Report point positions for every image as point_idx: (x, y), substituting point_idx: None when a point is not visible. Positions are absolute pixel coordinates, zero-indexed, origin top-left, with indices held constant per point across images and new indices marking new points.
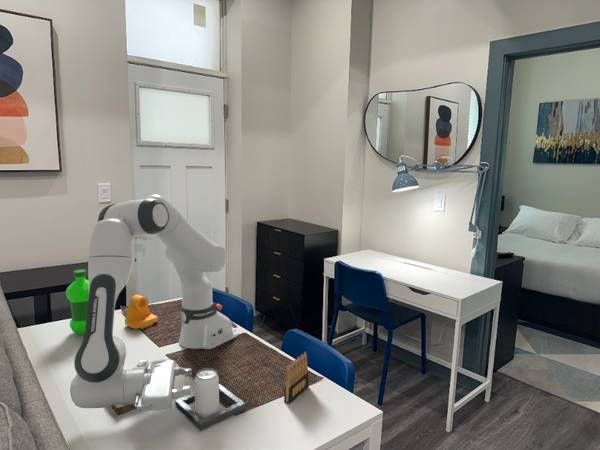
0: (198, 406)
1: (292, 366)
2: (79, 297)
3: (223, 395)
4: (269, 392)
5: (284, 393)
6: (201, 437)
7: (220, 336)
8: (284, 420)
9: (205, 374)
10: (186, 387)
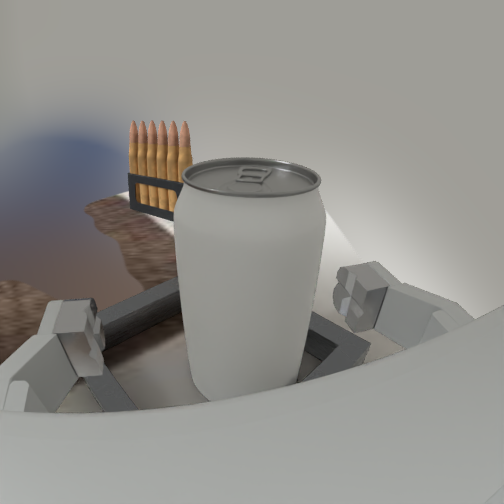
0: (301, 349)
1: (177, 132)
2: None
3: (137, 323)
4: (139, 244)
5: None
6: (389, 354)
7: None
8: None
9: (252, 181)
10: (373, 275)
